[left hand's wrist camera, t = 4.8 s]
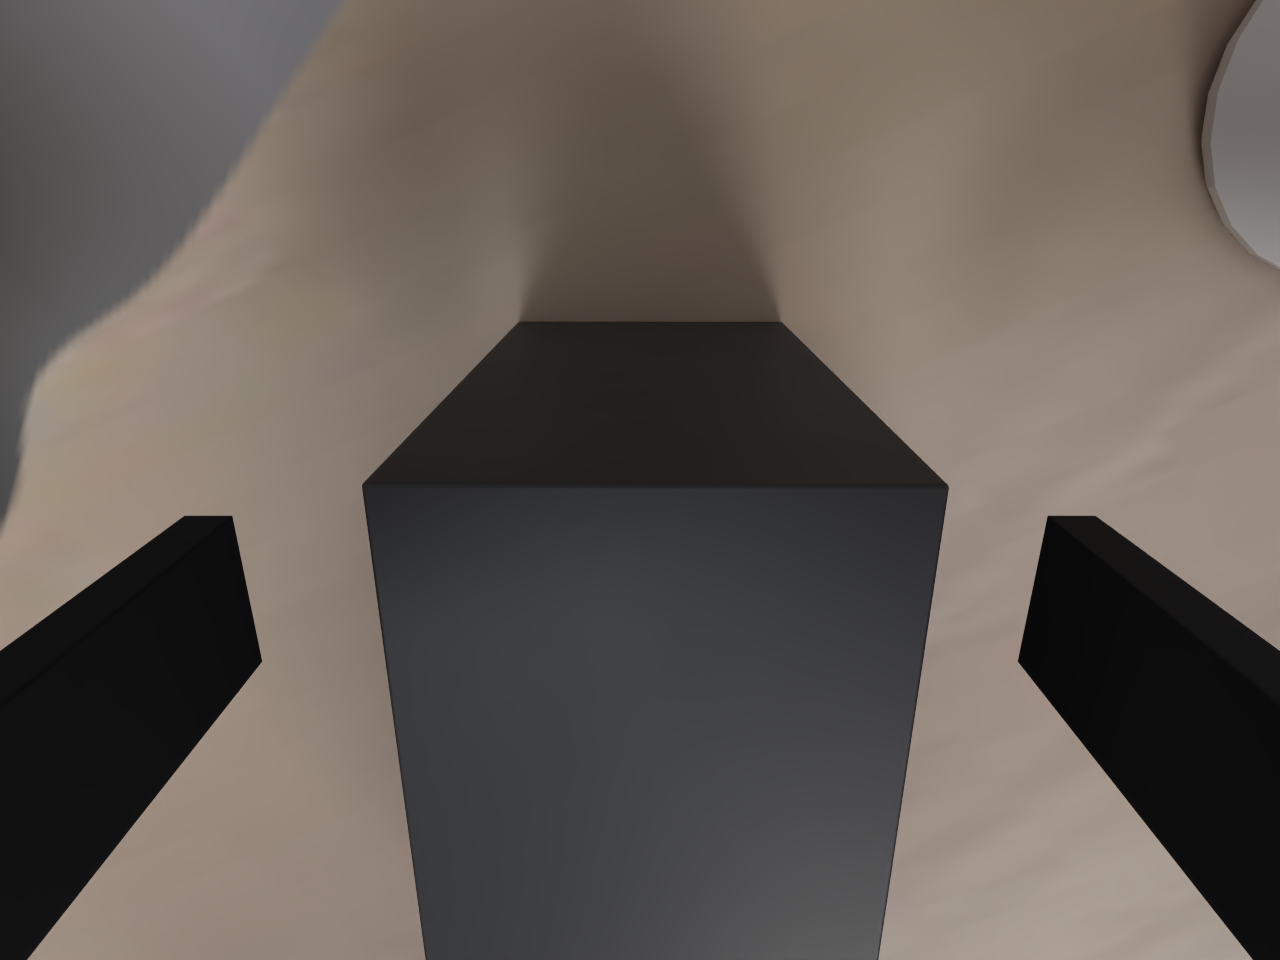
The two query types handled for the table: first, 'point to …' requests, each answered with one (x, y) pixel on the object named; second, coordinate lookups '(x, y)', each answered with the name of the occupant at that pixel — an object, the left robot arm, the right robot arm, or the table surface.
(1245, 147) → the mug
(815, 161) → the table surface
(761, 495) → the box
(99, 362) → the table surface
